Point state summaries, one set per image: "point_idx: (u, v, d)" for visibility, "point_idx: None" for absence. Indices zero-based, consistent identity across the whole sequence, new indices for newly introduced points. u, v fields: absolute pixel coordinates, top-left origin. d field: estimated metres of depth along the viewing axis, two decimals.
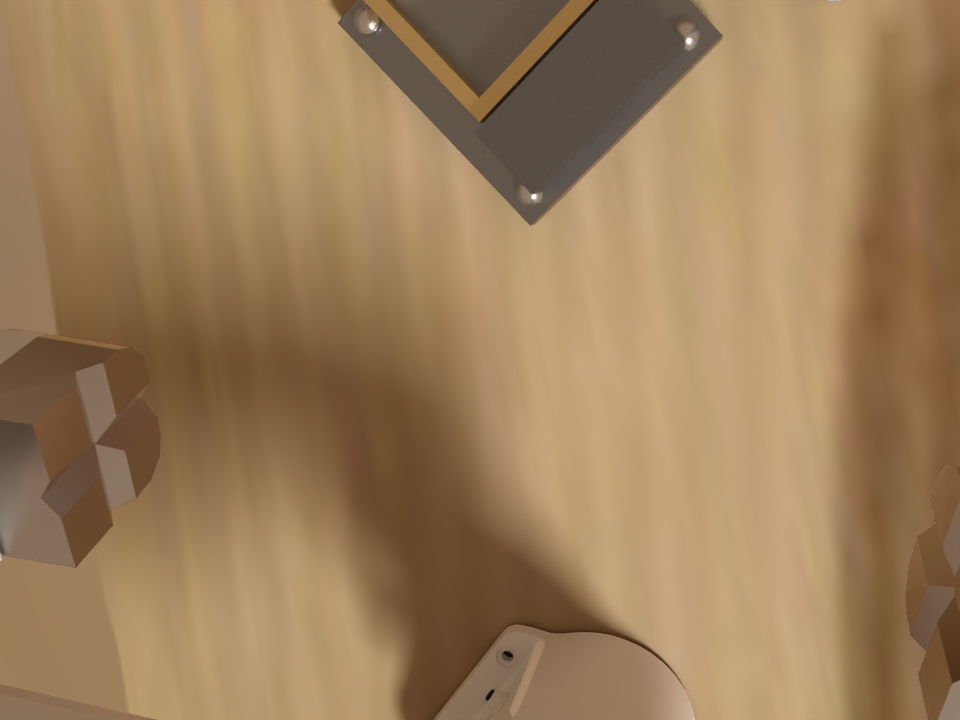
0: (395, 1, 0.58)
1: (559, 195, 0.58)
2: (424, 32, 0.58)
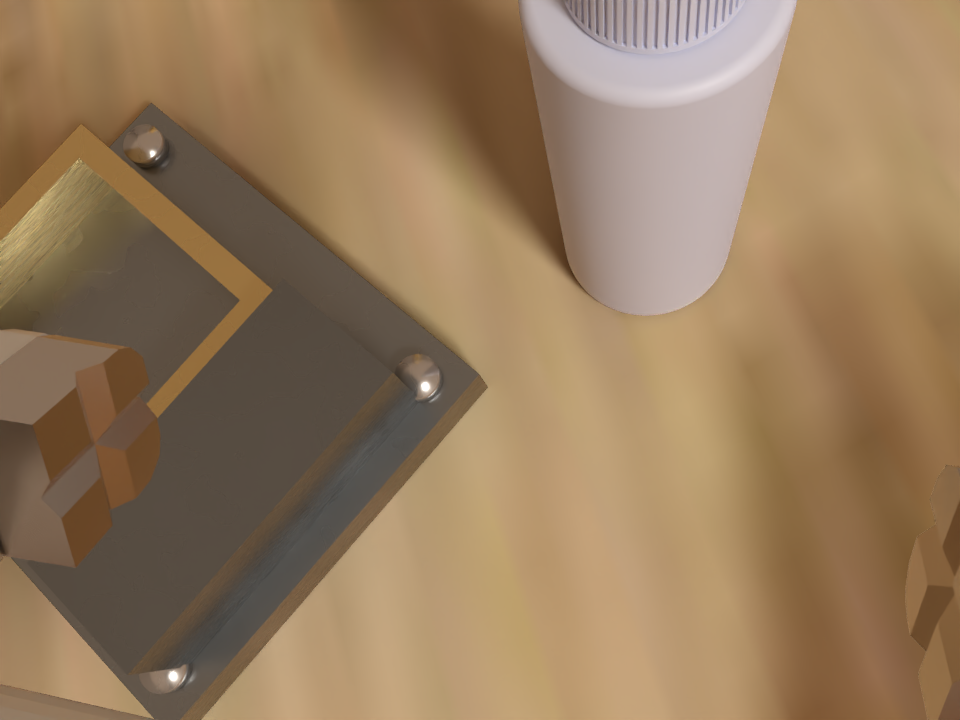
0: None
1: (220, 670, 0.31)
2: None
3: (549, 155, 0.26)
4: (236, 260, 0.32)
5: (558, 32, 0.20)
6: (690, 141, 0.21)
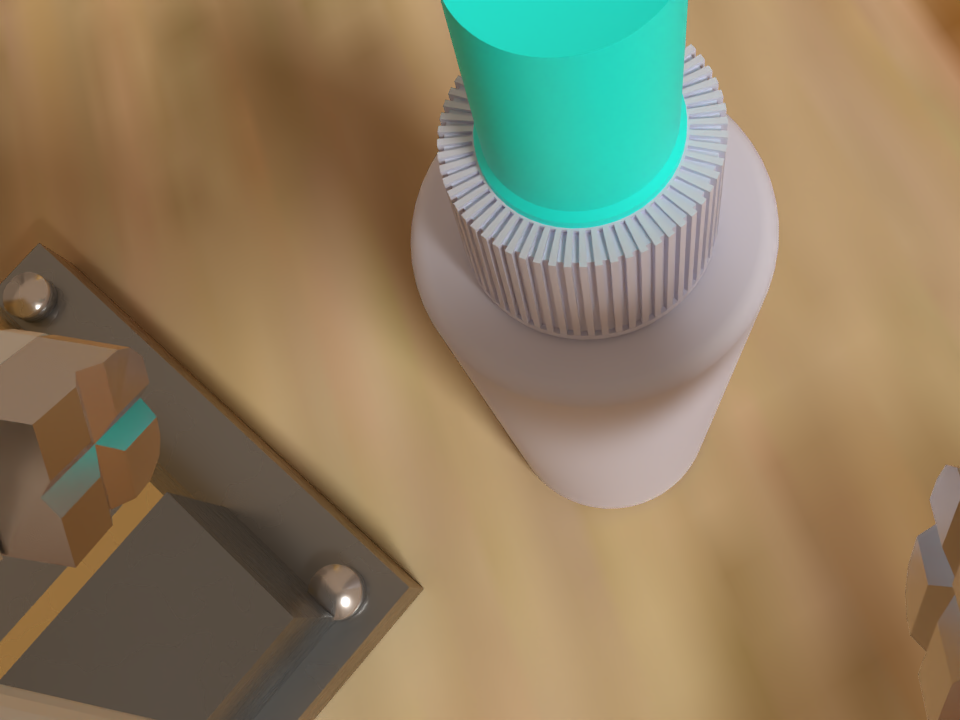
0: None
1: None
2: None
3: None
4: None
5: (458, 298, 0.15)
6: (640, 422, 0.16)
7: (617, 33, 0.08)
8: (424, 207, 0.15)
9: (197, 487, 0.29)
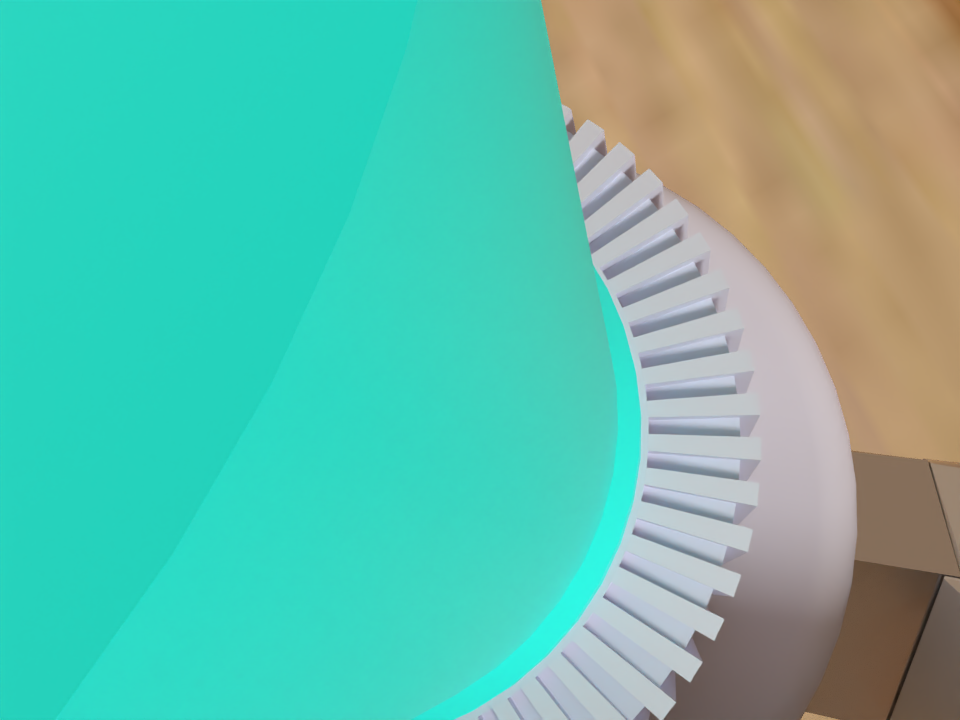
0: None
1: None
2: None
3: None
4: None
5: None
6: None
7: None
8: None
9: None
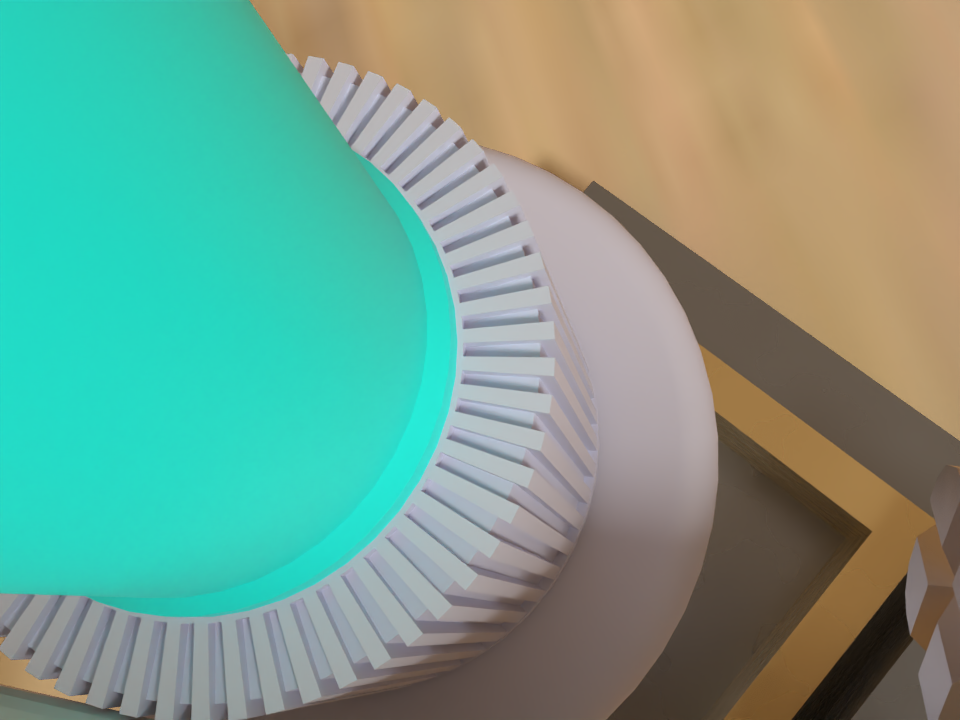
0: None
1: None
2: None
3: None
4: (853, 461, 0.20)
5: None
6: None
7: None
8: None
9: None
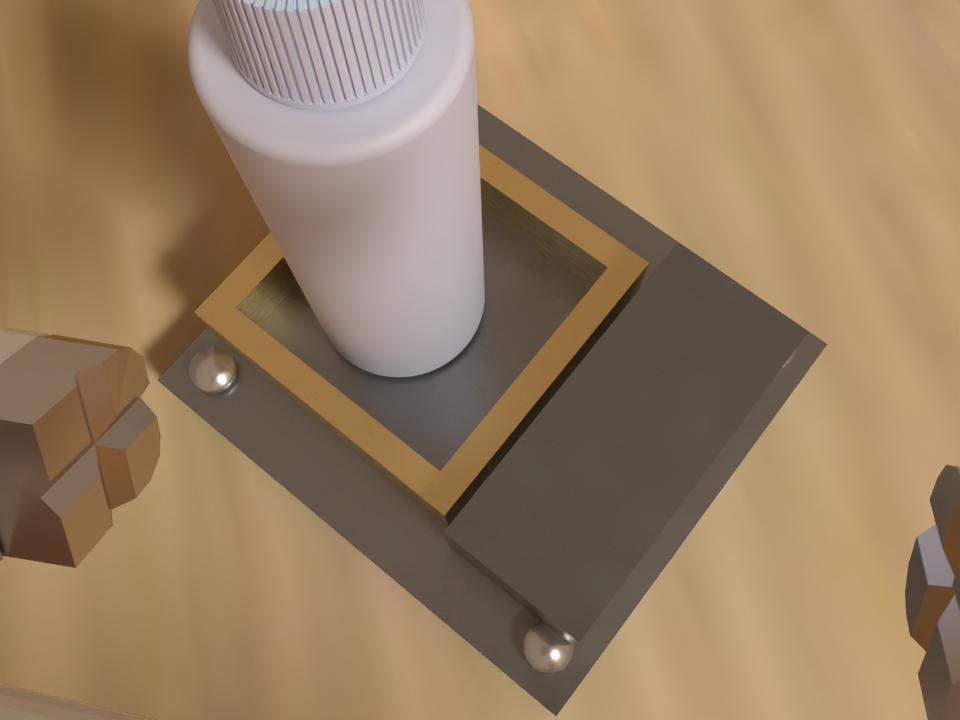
0: None
1: (603, 646, 0.30)
2: None
3: None
4: (597, 228, 0.32)
5: (225, 86, 0.19)
6: (382, 199, 0.20)
7: None
8: (197, 21, 0.19)
9: None
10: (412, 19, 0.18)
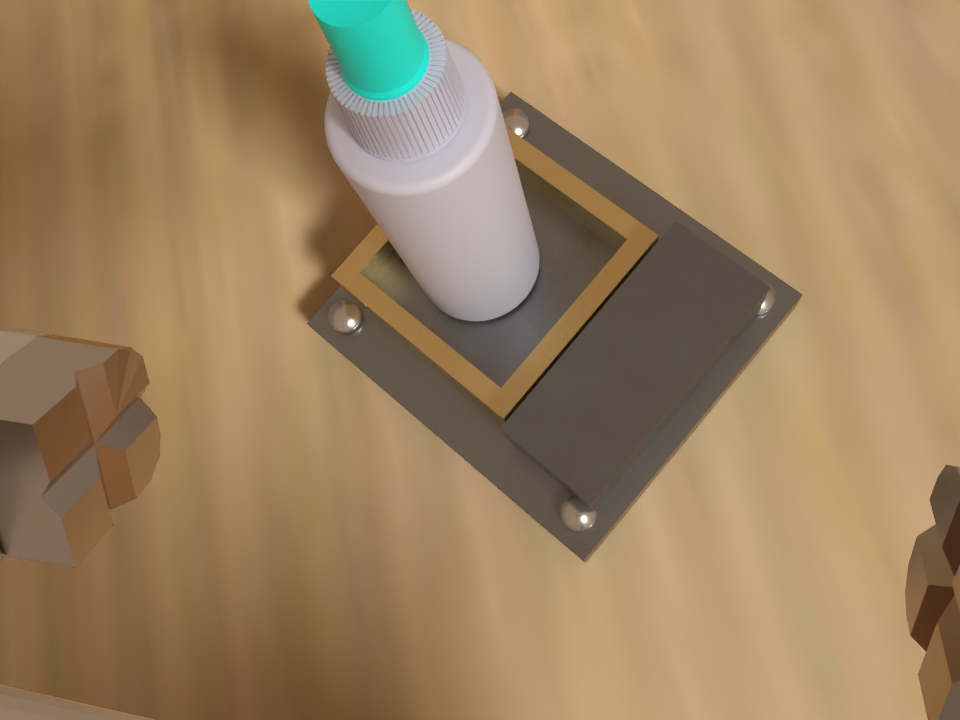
0: None
1: (619, 514, 0.42)
2: None
3: None
4: (621, 209, 0.43)
5: (346, 148, 0.31)
6: (443, 211, 0.32)
7: (370, 17, 0.24)
8: (329, 106, 0.31)
9: None
10: (454, 107, 0.29)
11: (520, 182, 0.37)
